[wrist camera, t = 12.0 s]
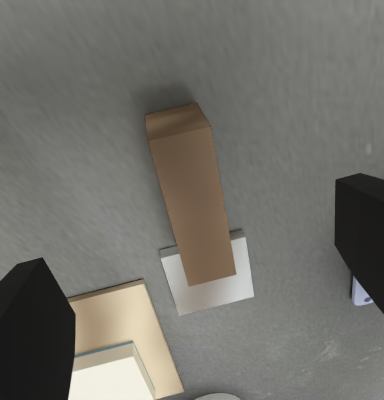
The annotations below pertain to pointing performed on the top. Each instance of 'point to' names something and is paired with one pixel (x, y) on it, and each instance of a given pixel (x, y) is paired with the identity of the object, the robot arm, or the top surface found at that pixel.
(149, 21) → the top surface
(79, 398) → the tile
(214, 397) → the white short cylinder
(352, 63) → the top surface
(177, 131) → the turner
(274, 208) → the top surface
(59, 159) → the top surface
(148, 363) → the tan flat rectangular piece
